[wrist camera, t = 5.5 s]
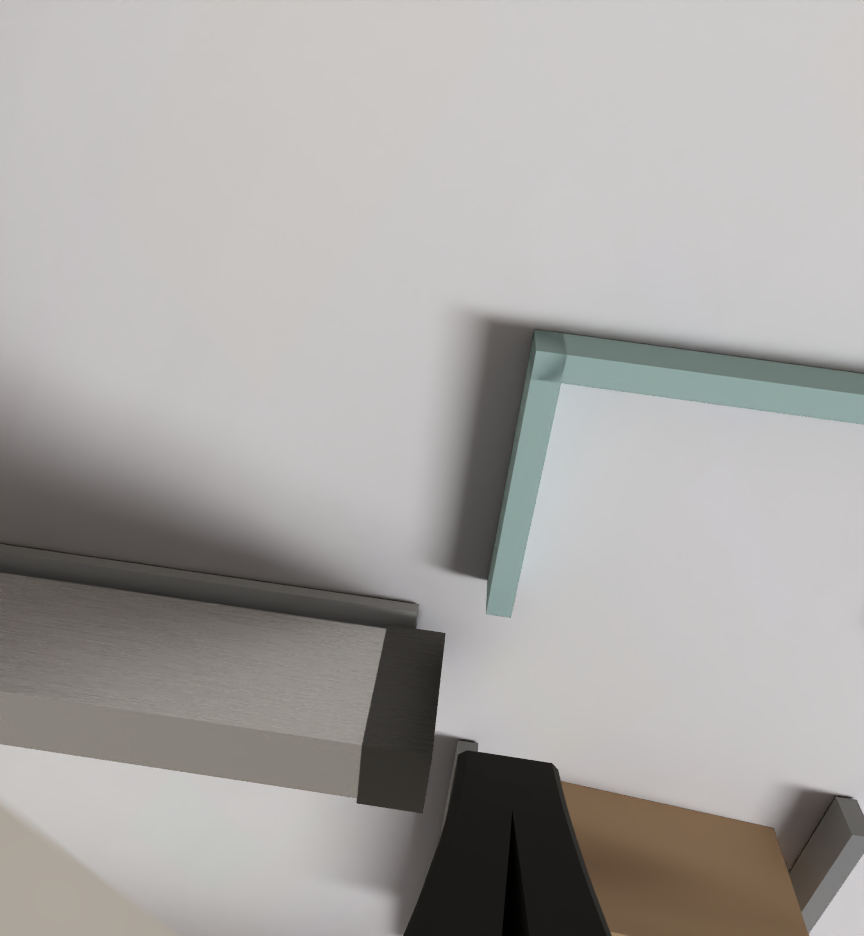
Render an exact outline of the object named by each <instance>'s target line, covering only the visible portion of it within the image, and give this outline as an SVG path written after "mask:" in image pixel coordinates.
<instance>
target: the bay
mask: <svg viewBox="0 0 864 936" xmlns="http://www.w3.org/2000/svg"><path fill="white" fill-rule="evenodd" d="M561 383H564V384H571V385H578V386H586V387H593V388H600V389H608V390H615V391H622V392H630V393H637V394H644V395H652V396H659V397H666V398H673V399H681V400H688V401H695V402H703V403H710V404H717V405H725V406H732V407H739V408H747V409H754V410H761V411H769V412H776V413H783V414H791V415H798V416H805V417H813V418H820V419H827V420H835V421H842V422H849V423H857V424H864V374H861V373H854V372H846V371H839V370H832V369H824V368H817V367H809V366H802V365H794V364H787V363H780V362H772V361H765V360H757V359H750V358H743V357H735V356H728V355H720V354H713V353H706V352H698V351H691V350H683V349H676V348H668V347H661V346H654V345H646V344H639V343H631V342H624V341H617V340H609V339H602V338H594V337H587V336H579V335H572V334H565V333H557V332H550V331H542V330H534V335H533V340H532V346H531V351H530V356H529V362H528V367H527V372H526V378H525V383H524V389H523V394H522V399H521V405H520V410H519V415H518V421H517V426H516V431H515V437H514V442H513V447H512V453H511V458H510V464H509V469H508V474H507V480H506V485H505V490H504V496H503V501H502V506H501V512H500V517H499V522H498V528H497V533H496V538H495V544H494V549H493V555H492V560H491V565H490V571H489V576H488V581H487V601H486V614H489V615H496V616H502V617H509V618H511V614H512V610H513V605H514V600H515V596H516V591H517V586H518V582H519V577H520V572H521V568H522V563H523V558H524V554H525V549H526V544H527V540H528V535H529V530H530V526H531V521H532V516H533V512H534V507H535V502H536V498H537V493H538V488H539V484H540V479H541V474H542V470H543V465H544V460H545V456H546V451H547V446H548V442H549V437H550V432H551V428H552V423H553V418H554V414H555V409H556V404H557V400H558V395H559V390H560V386H561Z"/></svg>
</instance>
